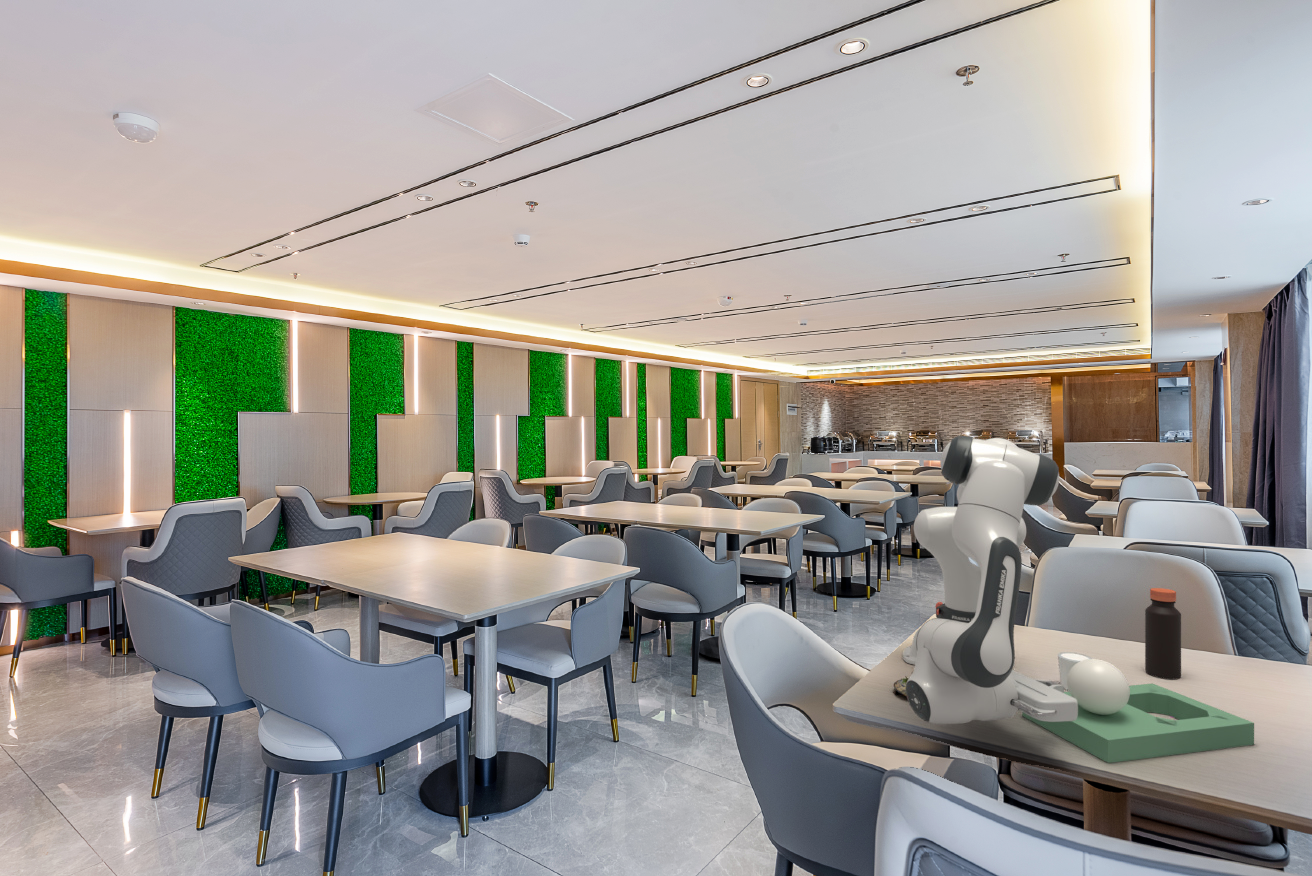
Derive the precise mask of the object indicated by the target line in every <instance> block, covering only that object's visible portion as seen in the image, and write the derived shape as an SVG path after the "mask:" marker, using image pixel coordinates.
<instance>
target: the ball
mask: <svg viewBox="0 0 1312 876" xmlns="http://www.w3.org/2000/svg"><path fill="white" fill-rule="evenodd" d="M1067 686H1068V690H1067V691H1068V692H1069V693H1070V695H1071V696H1072V697H1073V698H1075V699H1076V700H1077V702H1078V705H1080V706H1081V707H1082V708H1084V709H1085V710H1087V711H1089V712H1092V713H1095V714H1100V715H1109V714H1113V713H1116V712H1118V711H1120V710H1121V709H1123V708H1124V707H1125V705H1126V704H1127V702H1128V700H1129V696H1130V688H1129V686H1130V684H1129V681H1128V680H1127V678H1126V675H1124V673H1123V672H1122V671H1121V670H1120V669H1119V668H1118V666H1117V667H1116V666H1115V665H1113V664H1112V663H1110V662H1108V661H1106V660H1102V659H1098V658H1092V659H1086V660H1082V661H1080V662H1078V663H1076V664H1075V665H1074V666H1073V667H1072V668H1071V670H1070V671H1069V674H1068V677H1067Z"/></svg>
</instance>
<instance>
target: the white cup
mask: <svg viewBox="0 0 1312 876" xmlns="http://www.w3.org/2000/svg"><path fill="white" fill-rule="evenodd" d="M1086 659H1093V658H1092V657H1091V656H1088V655H1086V654H1082V653H1077V652H1067V651H1066V652H1060V653H1057V661H1058V669H1059V670H1058V671H1059V680H1060V685H1062V686H1063V687H1064V689H1065V690H1067V691H1069V690H1068V686H1067V677H1068V674H1069V671H1070V670H1071V668H1072V667H1073V666H1074V665H1075V664H1076V663H1078V662H1080V661H1082V660H1086Z"/></svg>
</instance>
